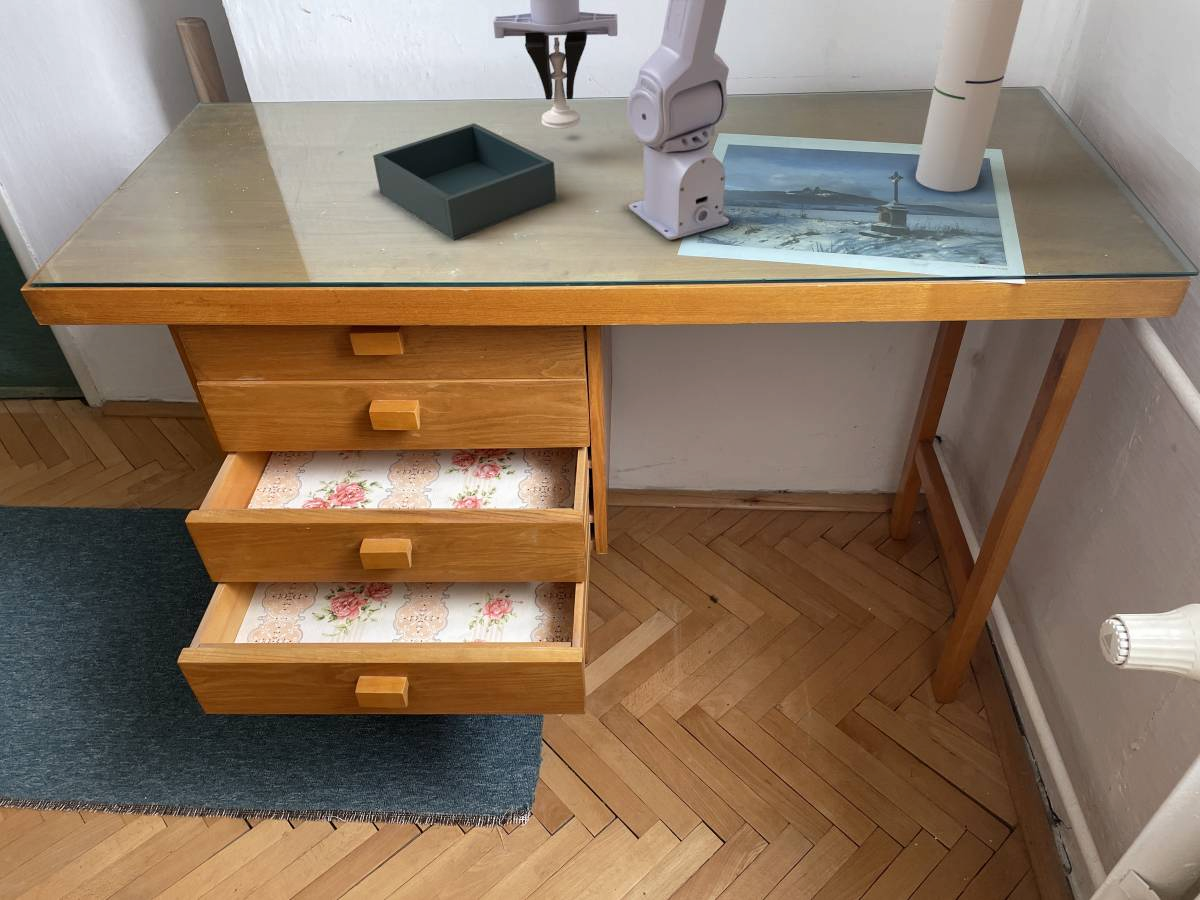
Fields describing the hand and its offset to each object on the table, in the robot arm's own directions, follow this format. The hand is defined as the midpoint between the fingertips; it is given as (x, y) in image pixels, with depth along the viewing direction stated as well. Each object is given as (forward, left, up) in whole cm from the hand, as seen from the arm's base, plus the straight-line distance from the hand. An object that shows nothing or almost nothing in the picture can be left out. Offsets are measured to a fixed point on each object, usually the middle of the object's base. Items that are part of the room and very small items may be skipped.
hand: (559, 96), depth 113 cm
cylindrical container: (-30, -37, -8) cm, 48 cm away
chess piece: (0, 0, -3) cm, 3 cm away
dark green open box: (-4, +15, -8) cm, 17 cm away
